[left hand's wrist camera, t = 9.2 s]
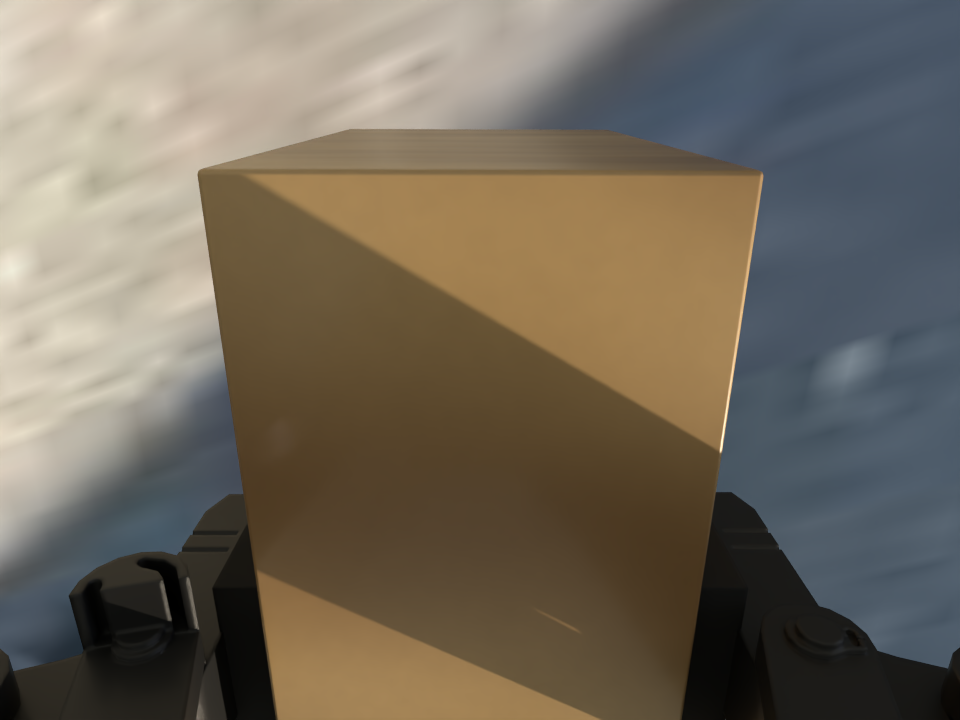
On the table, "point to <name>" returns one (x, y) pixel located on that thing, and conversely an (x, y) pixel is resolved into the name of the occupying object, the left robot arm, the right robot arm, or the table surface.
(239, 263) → the bar
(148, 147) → the table surface
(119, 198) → the table surface
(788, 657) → the left robot arm
